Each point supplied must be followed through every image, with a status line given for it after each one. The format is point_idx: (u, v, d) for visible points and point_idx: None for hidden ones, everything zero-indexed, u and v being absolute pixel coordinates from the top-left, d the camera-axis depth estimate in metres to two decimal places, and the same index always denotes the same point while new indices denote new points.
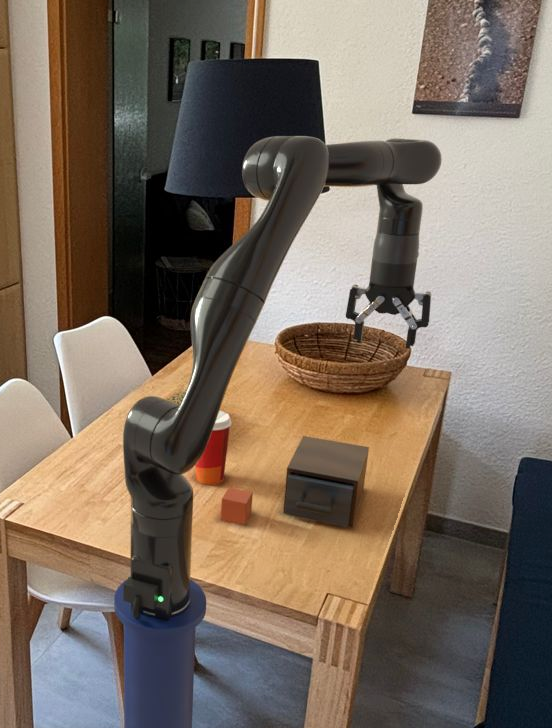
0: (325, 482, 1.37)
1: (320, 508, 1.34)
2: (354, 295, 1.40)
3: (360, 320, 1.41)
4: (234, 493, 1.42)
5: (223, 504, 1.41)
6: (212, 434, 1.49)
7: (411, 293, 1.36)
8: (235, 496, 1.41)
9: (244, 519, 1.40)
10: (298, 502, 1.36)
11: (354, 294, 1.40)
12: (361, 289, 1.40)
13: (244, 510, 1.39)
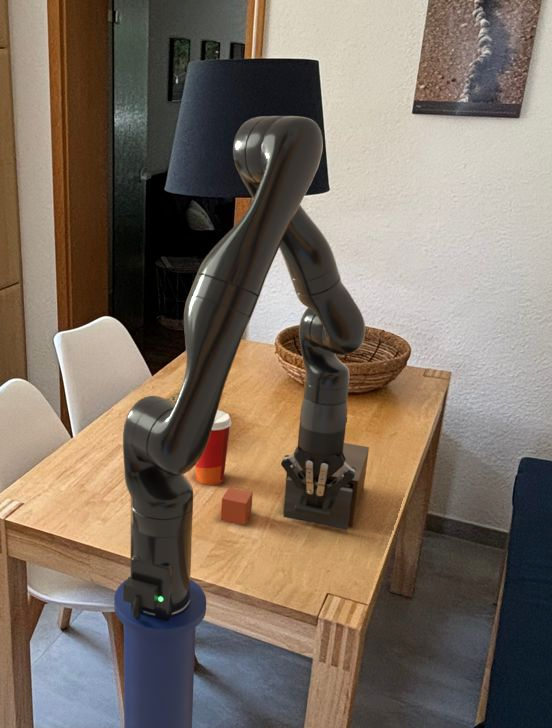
0: None
1: (319, 511, 1.33)
2: (288, 467, 1.34)
3: (311, 490, 1.33)
4: (234, 493, 1.42)
5: (223, 504, 1.41)
6: (212, 434, 1.49)
7: (342, 462, 1.30)
8: (235, 496, 1.41)
9: (244, 519, 1.40)
10: (297, 505, 1.35)
11: (288, 466, 1.34)
12: (290, 457, 1.34)
13: (244, 510, 1.39)
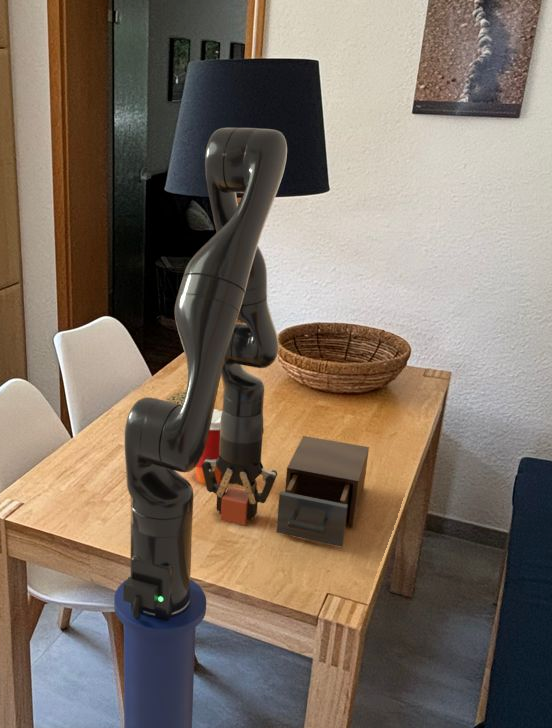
0: (318, 500, 1.32)
1: (313, 528, 1.28)
2: (207, 470, 1.41)
3: (221, 494, 1.42)
4: (234, 493, 1.42)
5: (223, 504, 1.41)
6: (212, 434, 1.49)
7: (258, 469, 1.37)
8: (235, 496, 1.41)
9: (244, 519, 1.40)
10: (290, 521, 1.30)
11: (206, 469, 1.41)
12: (212, 462, 1.41)
13: (244, 510, 1.39)
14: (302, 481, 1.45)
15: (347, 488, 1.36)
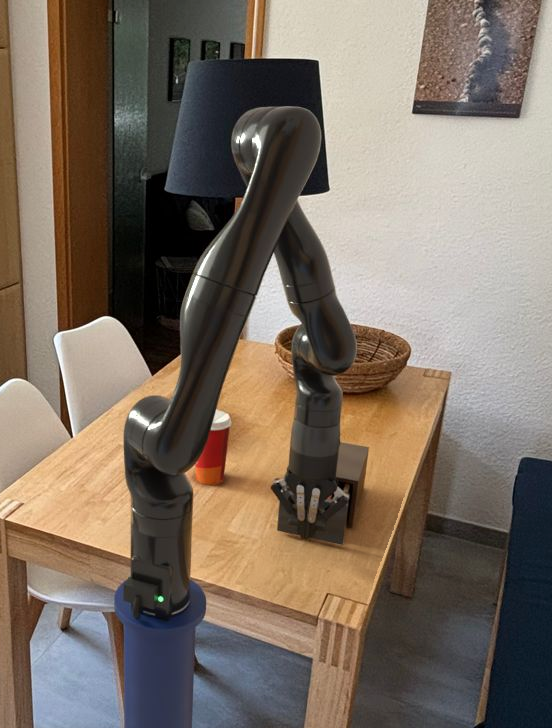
0: None
1: None
2: (278, 491, 1.26)
3: (302, 516, 1.26)
4: None
5: None
6: (212, 434, 1.49)
7: (334, 487, 1.22)
8: None
9: None
10: (290, 519, 1.30)
11: (278, 490, 1.26)
12: (281, 481, 1.26)
13: None
14: None
15: (348, 486, 1.36)
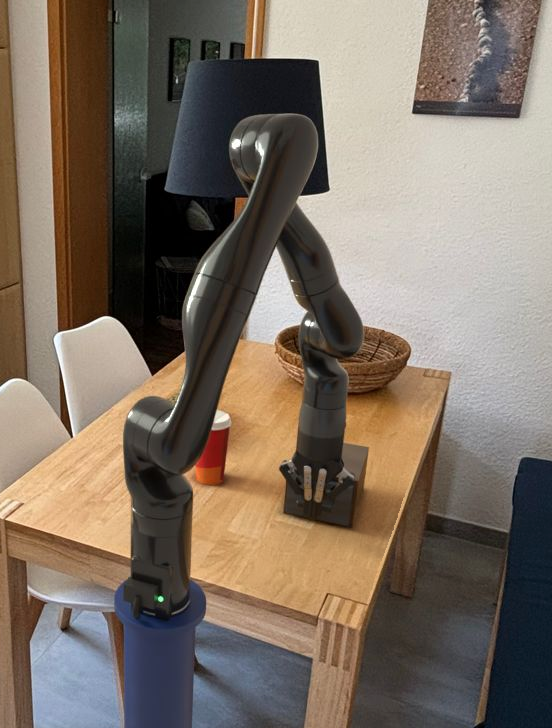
0: None
1: None
2: (286, 472, 1.32)
3: (309, 496, 1.32)
4: None
5: None
6: (212, 434, 1.49)
7: (340, 468, 1.28)
8: None
9: None
10: (299, 501, 1.36)
11: (286, 471, 1.32)
12: (288, 462, 1.32)
13: None
14: None
15: None
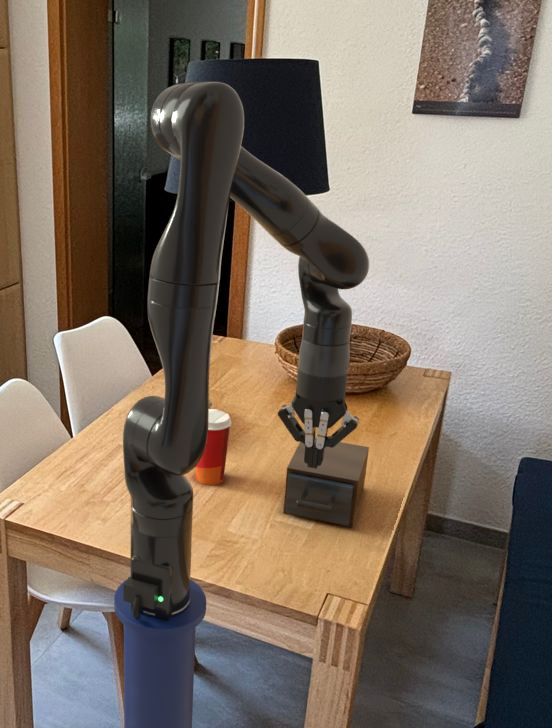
0: (325, 481, 1.38)
1: (321, 507, 1.34)
2: (286, 417, 1.23)
3: (310, 442, 1.23)
4: (320, 478, 1.43)
5: None
6: (212, 434, 1.49)
7: (343, 411, 1.19)
8: None
9: None
10: (299, 501, 1.36)
11: (285, 416, 1.23)
12: (288, 407, 1.24)
13: None
14: None
15: None
